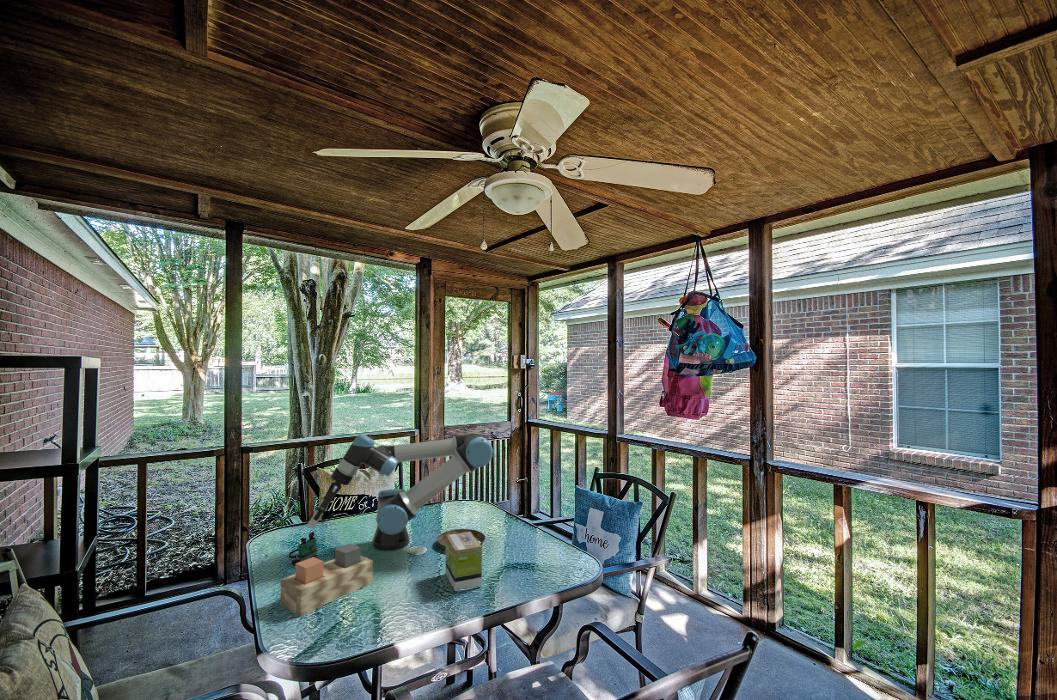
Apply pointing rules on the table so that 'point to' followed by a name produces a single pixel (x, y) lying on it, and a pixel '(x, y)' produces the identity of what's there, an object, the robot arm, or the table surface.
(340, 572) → the frame
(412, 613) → the table surface
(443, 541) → the plant saucer
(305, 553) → the binoculars
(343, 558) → the gray block
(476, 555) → the tea box
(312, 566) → the terracotta plunger
